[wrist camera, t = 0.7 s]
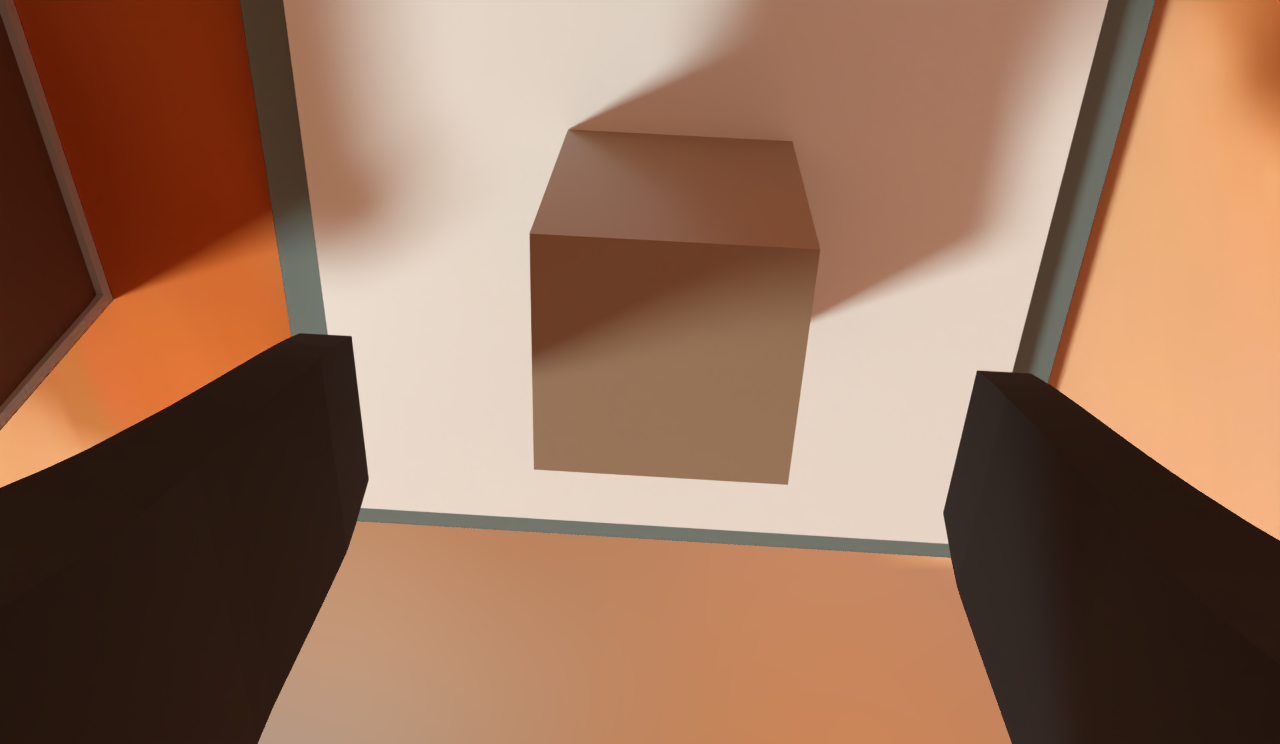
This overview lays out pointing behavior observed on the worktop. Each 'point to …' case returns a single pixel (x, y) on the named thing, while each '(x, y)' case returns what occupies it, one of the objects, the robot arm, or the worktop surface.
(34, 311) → the food container
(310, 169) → the lid
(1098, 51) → the mat
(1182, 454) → the worktop surface
